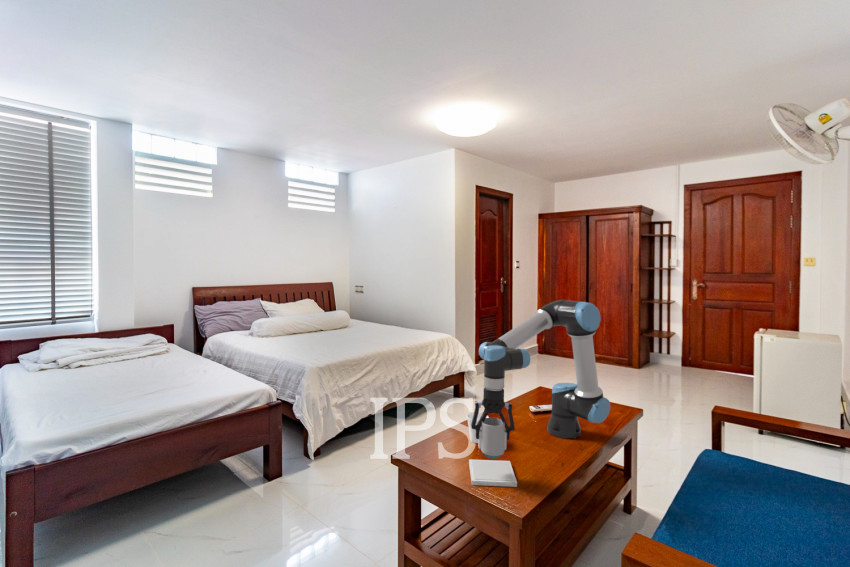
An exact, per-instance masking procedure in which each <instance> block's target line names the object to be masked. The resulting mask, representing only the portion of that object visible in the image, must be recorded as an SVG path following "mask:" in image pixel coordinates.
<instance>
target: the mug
mask: <svg viewBox="0 0 850 567" xmlns="http://www.w3.org/2000/svg"><path fill="white" fill-rule="evenodd" d="M505 430H506V428H505V423H504V422H502V420H501V418H498V417H489V418H486V419H485V421H484V423H483V421H482V429H481V449H480V451H481V452H482V453H483V454H485V455H488V456H491V457H498V456H502V455H504V453H505V450H504V434H505Z"/></svg>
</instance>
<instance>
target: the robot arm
mask: <svg viewBox="0 0 850 567" xmlns="http://www.w3.org/2000/svg"><path fill="white" fill-rule="evenodd" d="M601 319H602V318H601V313H600V310H599V309H598V307H597V306H596V305H595V304H594V303H591V302H587V301H578V300H569V299H568V300H567V299H559V300H556V301H555V300H554V301H552V302H549V303H547V304H545V305H544V306H542V307H540V308H539V309H537V310H536V311H535V312H534V314H533V316H531V317H529V318H528V319H525V321H523V322H521V323H520V324H518V325H516V327H514V328H512V329H510V330H509V331H508V332H506V333H505V334H503V335H501V336H500V337H498V338H496V339H495V340H494V341H492V342H491V341H485V342H483V343H481V344H480V345H479V348H478V356H480V358H481V359H482V360H484V365H483V367H484V370H483V371H484V372H483V399H482V401H477V400H476V401H474V406H475V408H474V412H473V413H474V415H473V419H472V423H471V427H472V429H475V430H476V439H479V440H478V443H477V444H478V445H477V446H478V449H479V450H481V429H480V428H481V426H482V421H483V423H484V421H485V419H486V417H487V416H489V414H495V415H496V414H498V416H499V417H500V419H501V420H502V422H504V423H505V434H504V451H505V450H507V441H509V440H510V434H511V431H515V429H516V428H515V423H514V422H515V421H514V418H513V417H514V416H513V404H512V403H511V402H510V401H509V402H505V389H504V388H505V375H506V371H513V370H514V371H515V370H522V369H525V368H528V367H529V365H530V364H531V354H530V353H529V351H528V350H527V349H525V348H519V347H520V346H522V345H523V344H526V342H528V341H529V340H531V339H532V338H535V336H536V335H538V334H540V333H541V332H543V331H545V330H550V329H551V328H553V327H558V326H559V327H560V326H561V327H565V329H566V334H567V335H568V336H569V337H570V338H571V347H572V353H573V361H574V369H575V370H574V371H575V378H576V383H573V382H572V383H571V382H559V383H558V382H557V383H555V384H553V386H552V389H551V415H550V417H549V421H548V422H547V426H546V428H547V429H546V430H547V432H548V434H551V435H552V436H555V437H557V438H561V439H567V438H573V439H576V438H575V437H578V436H580V435H581V436H582V429H581V425H580V422H579V419H578V417H579V418H580V419H583V420H585V421H588V422H589V423H594V424H601V423H603V422H604V421H605V420H606V419H607V418H608V416H609V413H610V412H611V402H610V400H609V399H608V398H607V397H605V396H604V393H603V389H602V388H601V387H599V379H598V373H597V366H596V364H597V363H596V355H595V348H594V347H595V345H594V338H593V337H594V335H595V334H596V333H597V329H599V327H600V323H601ZM481 407H483V408H484V410H483V412H482V413H483V414H482V416H481V418H480V420H479V421H478V423H477V425H476V421H477V417H478V413H480V409H481ZM504 407H505V408H506V410H507V416H508V419H509V420H508V421H509V424H508V423H507V420H506V418H505V415H504V414H503V411H502V410H503V409H504ZM508 425H509V426H508ZM581 436H580V437H581ZM578 438H579V437H578Z"/></svg>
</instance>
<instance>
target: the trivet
mask: <svg viewBox="0 0 850 567" xmlns="http://www.w3.org/2000/svg"><path fill="white" fill-rule="evenodd" d="M468 467H469V473H470V474H469V475H470V482H471V486H485V487H486V486H491V487H492V486H494V487H514V488H518V481H517V478H516V476H515V472H514V469H513V467H512V464H511V461H510V460H492V459H491V460H490V459H468Z"/></svg>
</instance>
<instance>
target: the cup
mask: <svg viewBox="0 0 850 567" xmlns="http://www.w3.org/2000/svg"><path fill="white" fill-rule="evenodd" d="M482 414H483V412H479V413H478V417H477V421H476V425H477V423H478V421H479V420H480V418H481V416H482ZM473 415H474V412H471V413H468V414H466V419H467V426H468V432H469V440H470V441H471V443H473V442H474V443H473V444H478V440H479V439H476V430H475V429H472V427H471V423H472V419H473ZM486 418H490V417H489V415H487V417H486ZM480 429H482V426H481V428H480Z"/></svg>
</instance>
